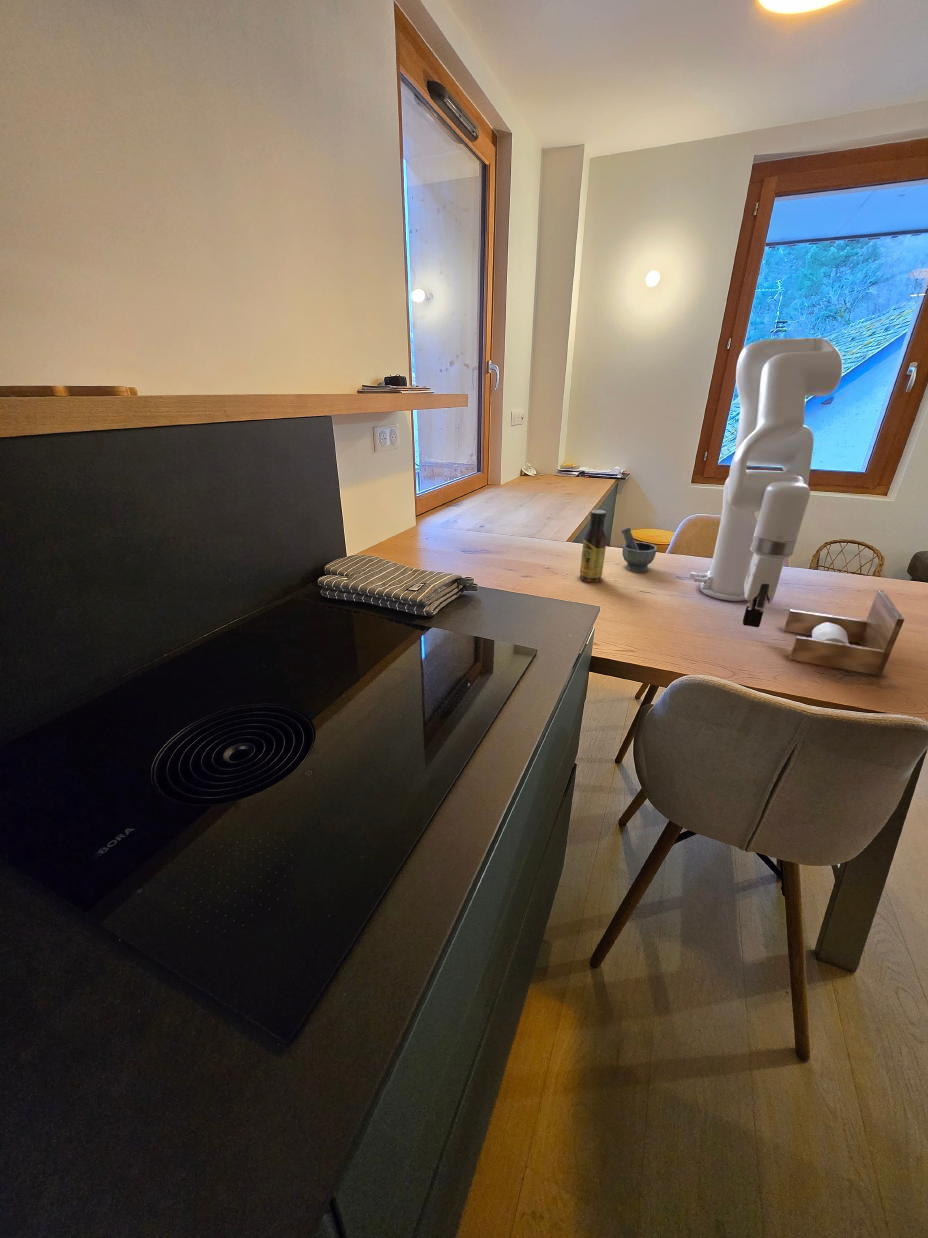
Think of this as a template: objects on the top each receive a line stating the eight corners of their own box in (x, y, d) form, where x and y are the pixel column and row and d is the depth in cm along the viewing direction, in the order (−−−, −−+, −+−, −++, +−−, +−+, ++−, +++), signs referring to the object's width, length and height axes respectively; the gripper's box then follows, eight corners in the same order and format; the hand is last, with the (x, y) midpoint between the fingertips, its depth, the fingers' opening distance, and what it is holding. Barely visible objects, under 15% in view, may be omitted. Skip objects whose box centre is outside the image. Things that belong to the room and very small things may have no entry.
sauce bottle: (576, 575, 144) (582, 508, 136) (597, 575, 145) (604, 507, 136) (583, 584, 139) (590, 514, 130) (605, 583, 139) (613, 513, 130)
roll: (839, 640, 107) (848, 617, 104) (846, 666, 97) (855, 641, 95) (806, 634, 109) (814, 611, 107) (810, 658, 100) (818, 634, 98)
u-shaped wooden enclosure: (789, 659, 100) (806, 605, 95) (783, 629, 112) (798, 579, 107) (881, 676, 94) (904, 619, 89) (863, 642, 106) (883, 590, 101)
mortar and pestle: (658, 567, 150) (665, 529, 144) (646, 576, 143) (652, 536, 138) (624, 560, 156) (628, 523, 151) (610, 568, 150) (615, 529, 145)
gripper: (750, 532, 107) (731, 608, 116) (753, 554, 95) (732, 636, 104) (790, 536, 104) (767, 613, 113) (798, 559, 92) (772, 643, 101)
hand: (750, 624), depth 108 cm, fingers closed
